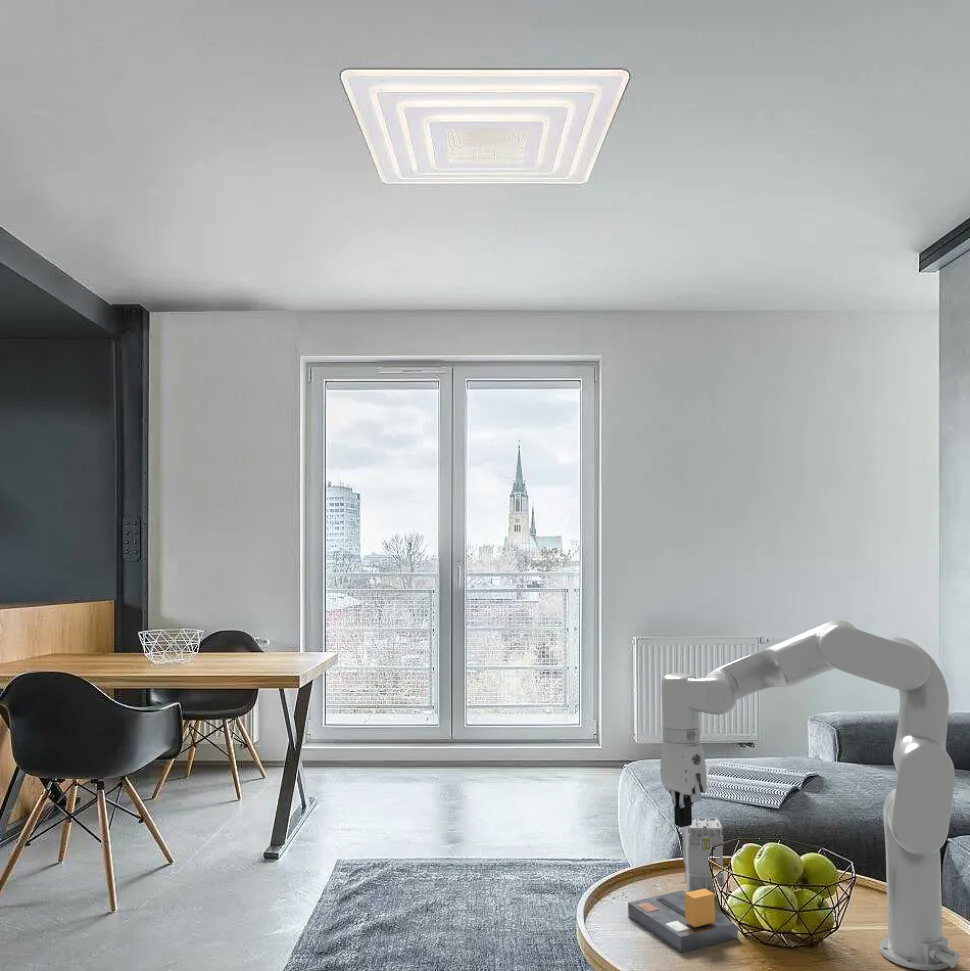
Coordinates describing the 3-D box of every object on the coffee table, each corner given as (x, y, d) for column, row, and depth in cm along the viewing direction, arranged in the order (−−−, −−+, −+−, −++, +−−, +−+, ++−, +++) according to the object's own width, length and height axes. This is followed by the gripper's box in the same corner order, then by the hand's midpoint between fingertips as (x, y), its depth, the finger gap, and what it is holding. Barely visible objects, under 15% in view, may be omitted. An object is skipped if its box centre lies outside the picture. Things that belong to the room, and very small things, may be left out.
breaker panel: (738, 937, 185) (737, 922, 185) (681, 952, 179) (680, 936, 179) (682, 904, 201) (682, 889, 202) (628, 916, 195) (628, 902, 196)
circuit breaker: (714, 872, 219) (713, 808, 220) (724, 897, 205) (722, 828, 206) (682, 871, 220) (681, 807, 220) (689, 896, 206) (688, 827, 206)
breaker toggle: (715, 922, 185) (714, 893, 185) (694, 927, 183) (694, 898, 183) (705, 916, 187) (704, 888, 188) (685, 921, 185) (684, 892, 185)
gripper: (719, 740, 186) (721, 833, 185) (673, 726, 199) (675, 812, 199) (689, 745, 183) (691, 839, 182) (644, 729, 196) (646, 817, 195)
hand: (683, 825), depth 190 cm, fingers closed
